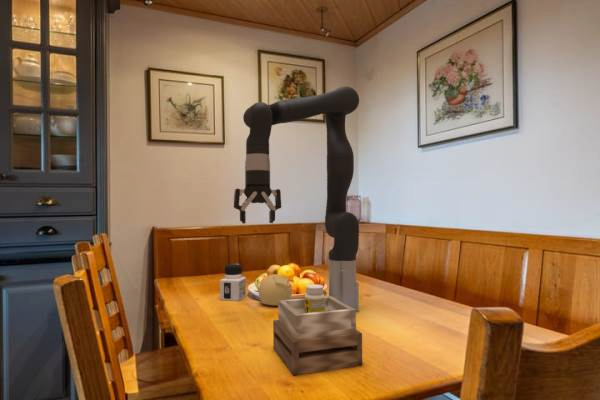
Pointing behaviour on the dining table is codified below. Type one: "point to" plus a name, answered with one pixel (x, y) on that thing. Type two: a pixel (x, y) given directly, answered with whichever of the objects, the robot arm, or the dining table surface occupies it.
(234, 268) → the container
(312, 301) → the supplement bottle
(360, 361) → the crate stack
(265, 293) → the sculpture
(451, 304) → the dining table surface
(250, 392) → the dining table surface
